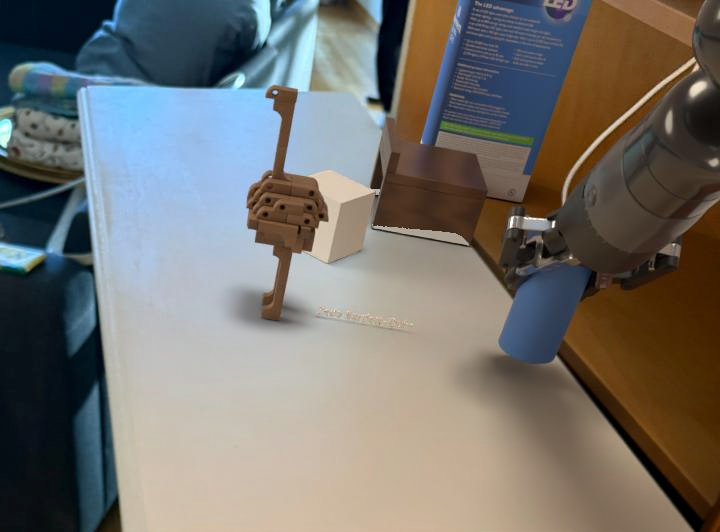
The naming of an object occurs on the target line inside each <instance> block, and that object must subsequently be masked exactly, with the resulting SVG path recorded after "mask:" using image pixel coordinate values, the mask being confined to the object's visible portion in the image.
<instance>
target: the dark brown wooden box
mask: <svg viewBox="0 0 720 532" xmlns="http://www.w3.org/2000/svg"><path fill="white" fill-rule="evenodd" d="M383 123H384V124H383V128H382V132H381V136H380V140H379V145H378V149H377V152H376V156H375V161H374V164H373V169H372V172H371V173H372V174H371V177H370V182H369V185H370V188H371V189H380V192H379V196H377V200H376V205H375V208H374V212H373V216H372V221H371V224H373V226H377V225H378V226H383V227H385V226H387V227H398V228H402V227H403V228H406V229H408V228H409V229H420V230H432V231H442V232H450V233H456V234H458V235H460V236H462V237H463V238H464V239H465V240H466V241H467V242H468V243H469V244H470V245H471V243H472V241H473V238H474V235H475V231H476V228H477V226H478V222H479V219H480V216H481V213H482V210H483V208H484V205H485V201H486V199H487V197H486V196H487V193H488V189H487V186H486V183H485V180H484V177H483V174H482V171H481V168H480V165H479V161H478V158H477V155H476V154H474V153H468V152H463V151H458V150H453V149H447V148H442V147H437V146H431V145H426V144H421V142H416V141H410V140H404V139H400V138H399V136H398V130H397V123H396V119H395V118H394V117H389V116H386V117H385V120H384V122H383Z"/></svg>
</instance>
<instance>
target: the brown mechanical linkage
mask: <svg viewBox="0 0 720 532" xmlns="http://www.w3.org/2000/svg"><path fill="white" fill-rule="evenodd" d="M275 91H276V92H277V93H274V92H275ZM264 95H265V96H264V97H265V98H266V99H268V100H269V99H270V100H273V103H272V111H274V112H276V113H277V114H278V115H279V116H280V118H281V119H280V125H279V132H278V136H277V137H278V138H277V143H276V148H275V154H274V160H273V165H272V169H269V170H266V171H265V172H264V173H263V174H262V176H261V179H260V180H258V181H257V182H253V183H252V184H251V185H250V187H249V188H248V191H247V196H246V206H245V208H246V209H247V210H248V213H247V218H246V219H247V220H246V228H247V229H248V230H253V231H255V236H254V243H256V244H261V245H266V246H273V248H272V256H274V257H276V258H277V259H278V263H277V267H276V273H275V278H274V284H273V287H272V290H270V291H268V292H263V294H262V300H261V305H262V309H261V319H265V320H271V321H272V320H273V321H280V320H281V314H282V309H283V305H284V298H285V294H286V289H287V284H288V278H289V273H290V268H291V264H292V263H291V262H292V257H293V254H298V255H301V254H302V252H304V251H308V252H312V247H313V243H314V238H315V228H317V229H318V227H319V222H320V221H324V222H329V219H328V207H327V204H326V203H325V202H324V198H323V196H322V195H321V192H320V191H319V185H318V182H317V180H316V179H315V178H312V177H307V176H308V175H301V174H294V173H289V172H285V164H286V158H287V152H288V147H289V143H290V136H291V130H292V125H293V119H294V113H295V109H296V103H297V101H298V95H299V89H298V88H296V87H295V88H294V87H288V86H284V85H278V84H272V85H270V86H269V87H268V88H267V89H266V91H265V94H264ZM302 250H303V251H302ZM318 308H320V309H319V310H318V311H317V312H316V315H321V316H323V315H324V316H326V317H328V316H329V317H331V318H335V316H336V318H337V319H342V313H343V312H342V311H339V310H338V311H337V307H335V308H334V309H331V310H329V309H328V308H326V309H325V306H322V305H318ZM323 310H324V311H323ZM336 312H337V314H336ZM332 313H333V314H332ZM369 316H370V313H367V315H366V314H359V315H358V314H356V313H352V311H351V310H347V311H346V315H345V320H352V321H355V322H360V320H361V319H360V318H362V322H363V323H370V324H375V325H380V326H382V323H383V324H388V325H387V326H388V327H390V328H394V327H395V326H396V329H403V330H404V329H406V330H409V331H410V330H411V329H412V327H413V326H415V323H410V324H409V323H408V322H407V319H404V322H403V321H401V322H400V321H398V320H397V319H396V318H394V317H390V318H389V322H388V321H387V320H384V319H383V318H382V316H381V317H379V316H376V317H374V316H370V317H369ZM365 318H366V319H365ZM392 321H394V323H393V324H391V323H392ZM381 322H382V323H381ZM399 324H400V325H399ZM405 327H406V328H405Z"/></svg>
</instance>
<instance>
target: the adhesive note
mask: <svg viewBox="0 0 720 532" xmlns="http://www.w3.org/2000/svg"><path fill="white" fill-rule="evenodd" d="M306 176H307V177H312V178H315V179H316V180H317V182H318V185H319V191H320V192H321V195H322V196H323V198H324V202H325V203H326V204H327V207H328V219H329V222H324V221H320V222H319V227H318V229H317V228H315V238H314V243H313V247H312V252H308V251H303V250H302V252H304V253H306V254H307V255H310V256H312V257H313V258H315V259H317V260H319V261H320V262H323V263H324V264H330V263H333V262H336V261H338V260H341V259H343V258H345V257H349V256H351V255H353V254H356V253H359V252H360V251H359V250H361V251H362V250H363V245H364V242H365V238H366V233H367V231H368V230H367V229H368V225H369V222H370V217H371V214H372V209H373V205H374V202H375V198H376V196H375V194H376V191H374V190H372V189H370V188H369V186H368V187H367V186H366V185H363V184H361V183H359V182H357V181H355V180H353V179H351V178H349V177H346V176H344V175H342V174H340V173H338V172H336V171H334V170H332V169H326V170H323V171H319V172H316V173H313V174H310V175H306Z"/></svg>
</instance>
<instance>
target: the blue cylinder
mask: <svg viewBox="0 0 720 532" xmlns="http://www.w3.org/2000/svg"><path fill="white" fill-rule="evenodd" d="M535 251H536V250H535ZM534 256H535V255H534ZM592 271H593V270H592V269H590V268H585V267H582V266H579V265H576V266H574V267H570V266H566V267H563V268H561V269H558V270H555V271H553V272H550V273H547V274H546V273H543V272H541V271H538V272H535V273H533V274H531V276H530V277H529V278H528V279H527V280H526V281H525V282H524V283H523V284H522V285H521V286H520V287H519V288H518V289H517V290H516V292H515V295H514V298H513V301H512V303H511V305H510V308H509V311H508V314H507V316H506V319H505V321H504V324H503V327H502V330H501V332H500V335H499V337H498V341H497V342H498V346H499V347H500V350H502V351H503V352H504V353H505V354H507V355H508V356H510V357H512V358H513V359H515V360H518V361H520V362H523V363H528V364H533V365H547V364H548V363H552V362H553V361H554V360H555V358H556V356H557V354H558V352H559V349H560V347H561V345H562V342H563V341H564V339H565V336H566V333H567V331H568V329H569V326H570V325H571V322H572V320H573V318H574V315H575V313H576V311H577V308H578V306H579V303H580V302H581V301H580V299H581V297H582V294H583V292H584V290H585V288H586V285H587V283H588V281H589V278H590V276H591V274H592Z"/></svg>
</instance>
